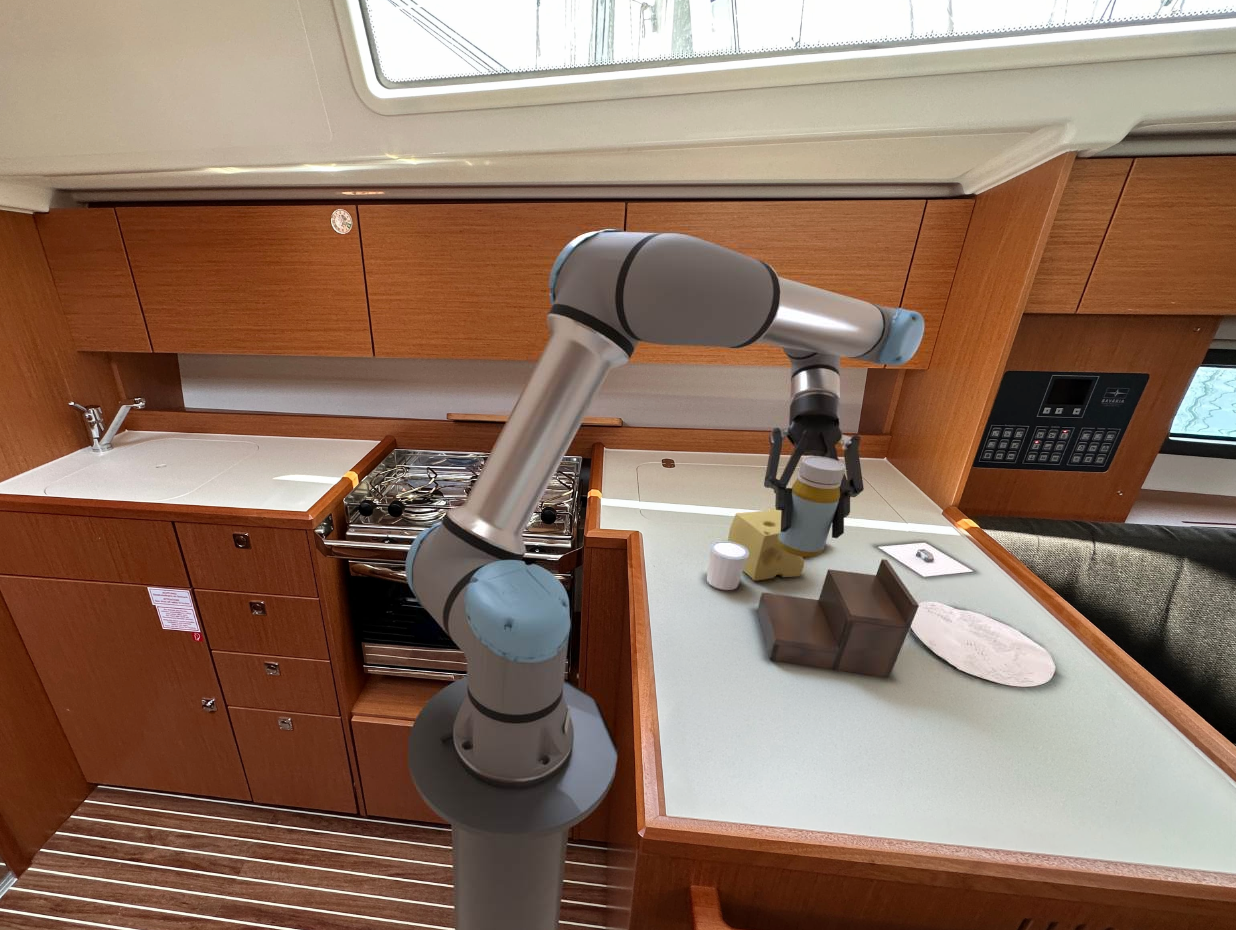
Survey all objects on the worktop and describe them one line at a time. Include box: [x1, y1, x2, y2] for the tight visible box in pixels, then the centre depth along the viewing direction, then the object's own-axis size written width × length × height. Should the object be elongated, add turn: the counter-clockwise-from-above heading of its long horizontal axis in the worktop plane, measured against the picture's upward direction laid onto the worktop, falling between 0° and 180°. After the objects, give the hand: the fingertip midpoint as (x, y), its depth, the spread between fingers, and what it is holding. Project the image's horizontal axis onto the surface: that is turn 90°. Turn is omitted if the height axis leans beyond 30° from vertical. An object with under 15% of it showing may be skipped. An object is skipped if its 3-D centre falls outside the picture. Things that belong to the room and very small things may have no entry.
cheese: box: [727, 508, 805, 582], centre depth 112 cm, size 10×11×10 cm
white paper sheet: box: [878, 542, 974, 578], centre depth 119 cm, size 12×12×2 cm
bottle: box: [778, 455, 846, 558], centre depth 93 cm, size 7×7×15 cm
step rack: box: [756, 558, 919, 679], centre depth 91 cm, size 17×13×13 cm
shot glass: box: [706, 540, 749, 591], centre depth 107 cm, size 7×7×7 cm
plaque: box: [910, 601, 1056, 688], centre depth 95 cm, size 20×20×2 cm
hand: (811, 532), depth 91 cm, fingers closed on bottle, 7 cm apart
